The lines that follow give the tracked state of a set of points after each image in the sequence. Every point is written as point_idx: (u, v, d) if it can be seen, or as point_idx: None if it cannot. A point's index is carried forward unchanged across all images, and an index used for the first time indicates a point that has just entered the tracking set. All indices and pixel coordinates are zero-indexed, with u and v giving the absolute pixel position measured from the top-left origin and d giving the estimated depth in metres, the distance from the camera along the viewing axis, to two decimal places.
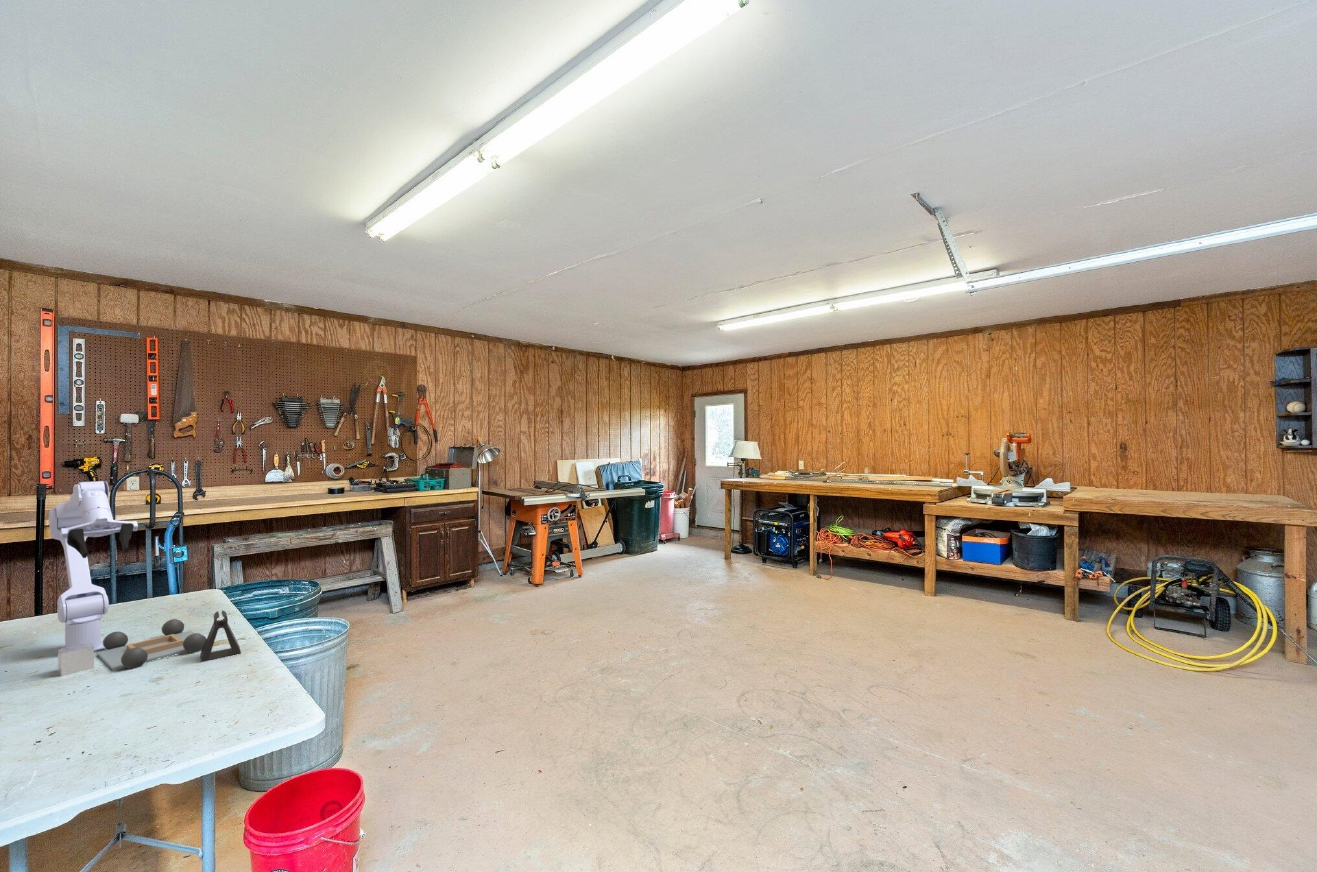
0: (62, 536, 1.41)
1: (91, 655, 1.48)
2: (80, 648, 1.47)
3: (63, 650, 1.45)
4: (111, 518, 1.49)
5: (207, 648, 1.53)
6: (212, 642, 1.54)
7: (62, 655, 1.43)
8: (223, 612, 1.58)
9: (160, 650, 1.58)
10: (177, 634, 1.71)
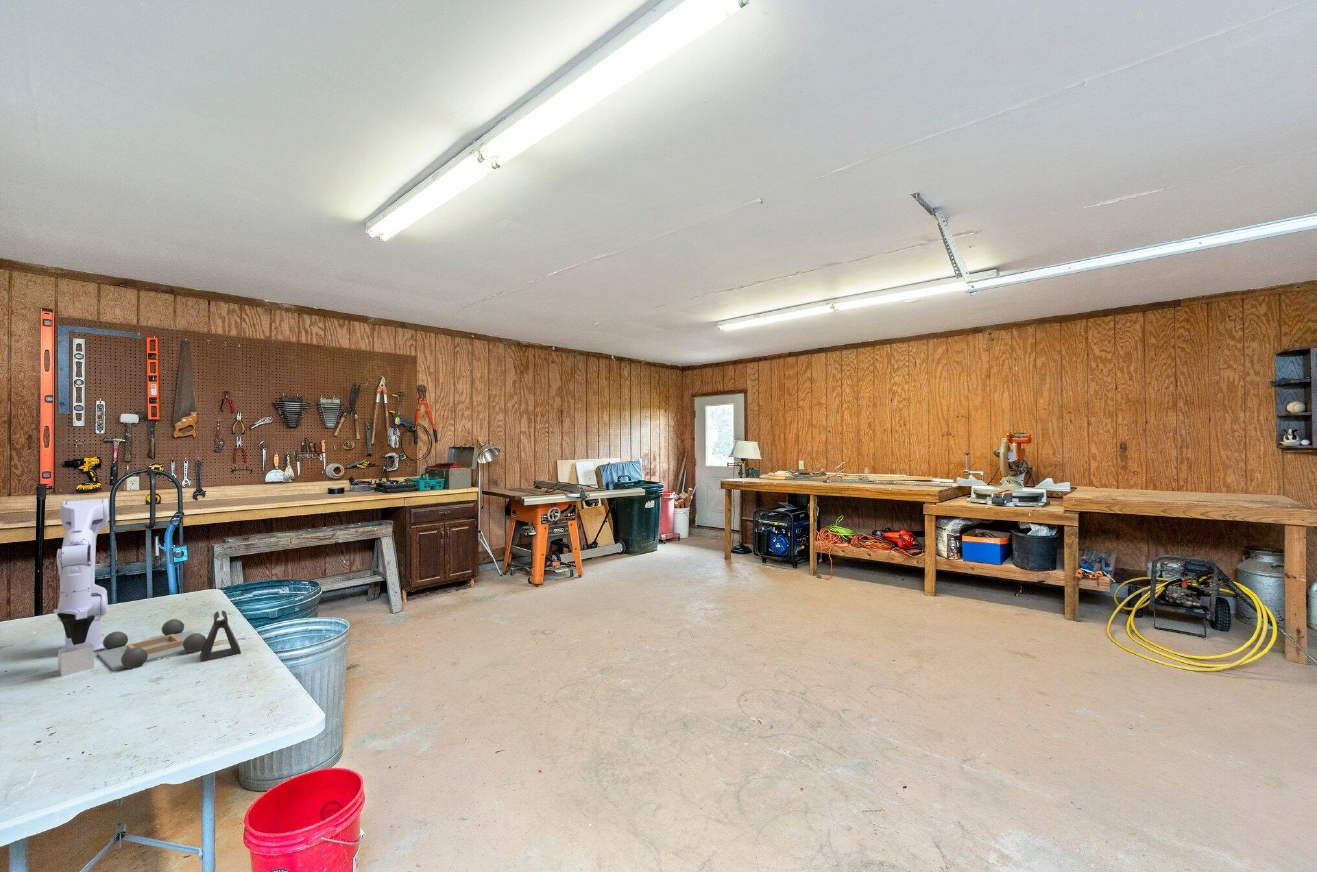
0: None
1: (91, 655, 1.48)
2: (80, 648, 1.47)
3: (63, 650, 1.45)
4: (68, 605, 1.44)
5: (207, 648, 1.53)
6: (212, 642, 1.54)
7: (62, 655, 1.43)
8: (223, 612, 1.58)
9: (160, 650, 1.58)
10: (177, 634, 1.71)
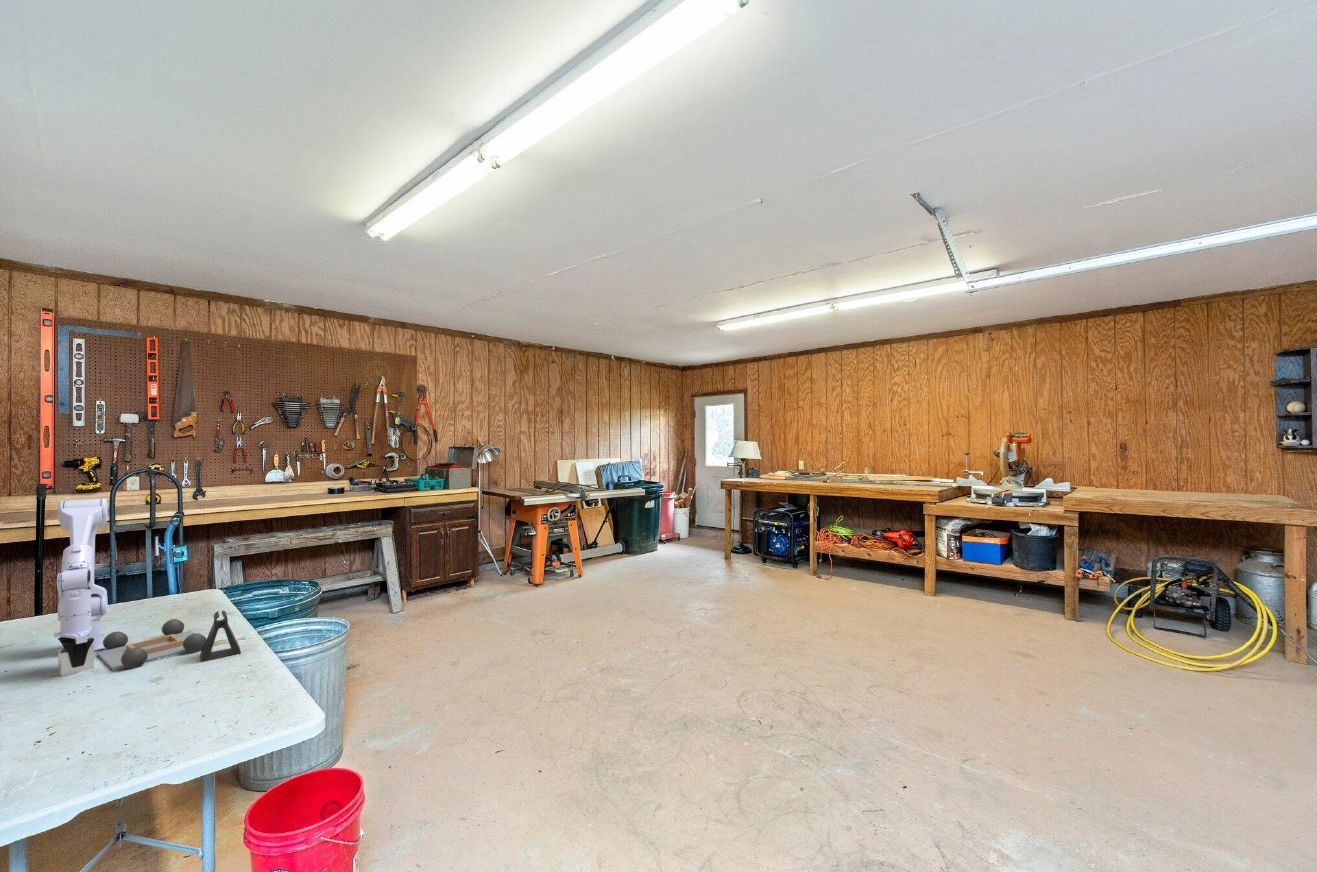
0: None
1: (91, 655, 1.48)
2: None
3: (63, 650, 1.45)
4: (68, 629, 1.44)
5: (207, 648, 1.53)
6: (212, 642, 1.54)
7: (62, 655, 1.43)
8: (223, 612, 1.58)
9: (160, 650, 1.58)
10: (177, 634, 1.71)
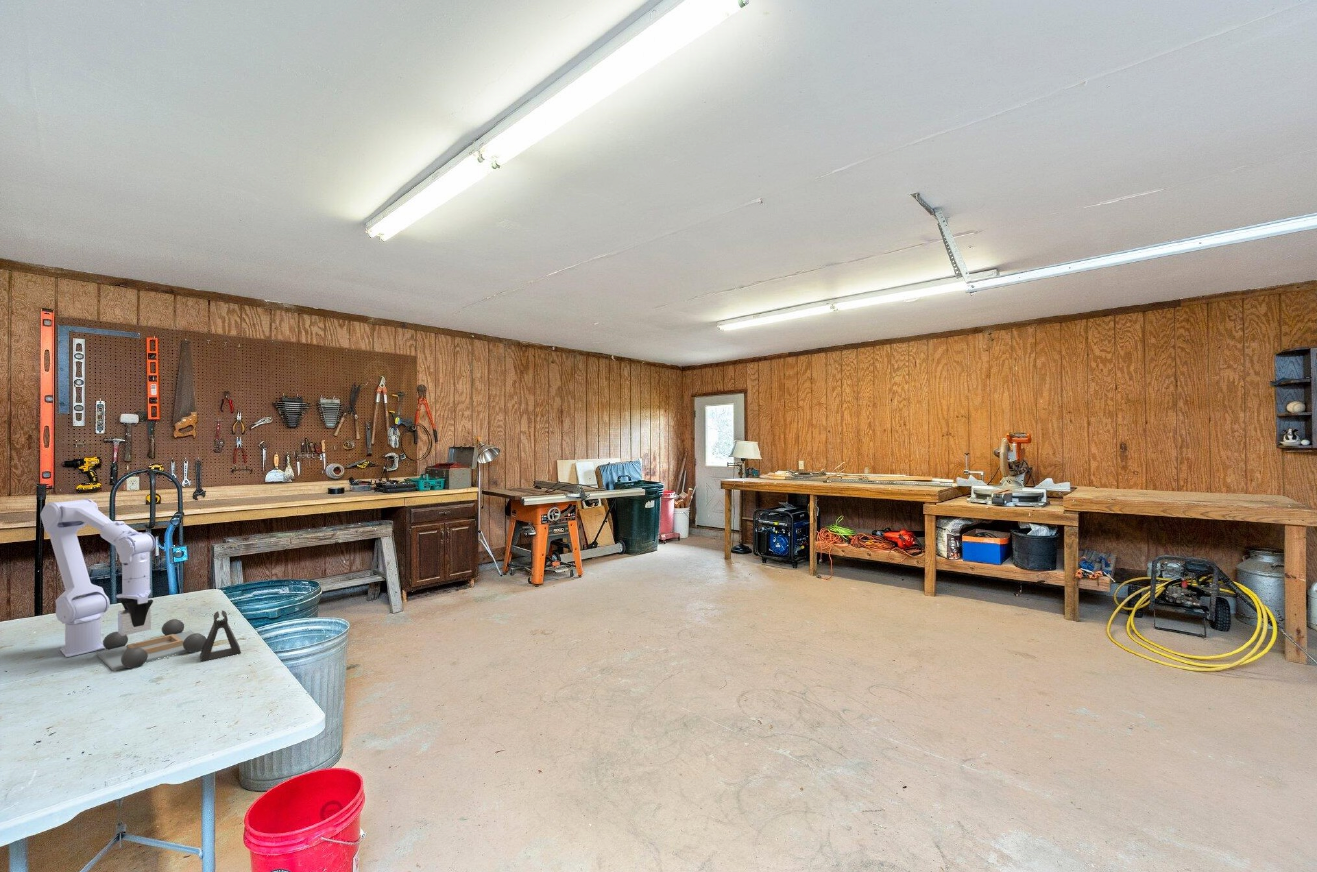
0: None
1: (148, 617, 1.57)
2: None
3: (123, 612, 1.55)
4: (130, 590, 1.54)
5: (207, 648, 1.53)
6: (212, 642, 1.54)
7: (122, 616, 1.53)
8: (223, 612, 1.58)
9: (160, 650, 1.58)
10: (177, 634, 1.71)
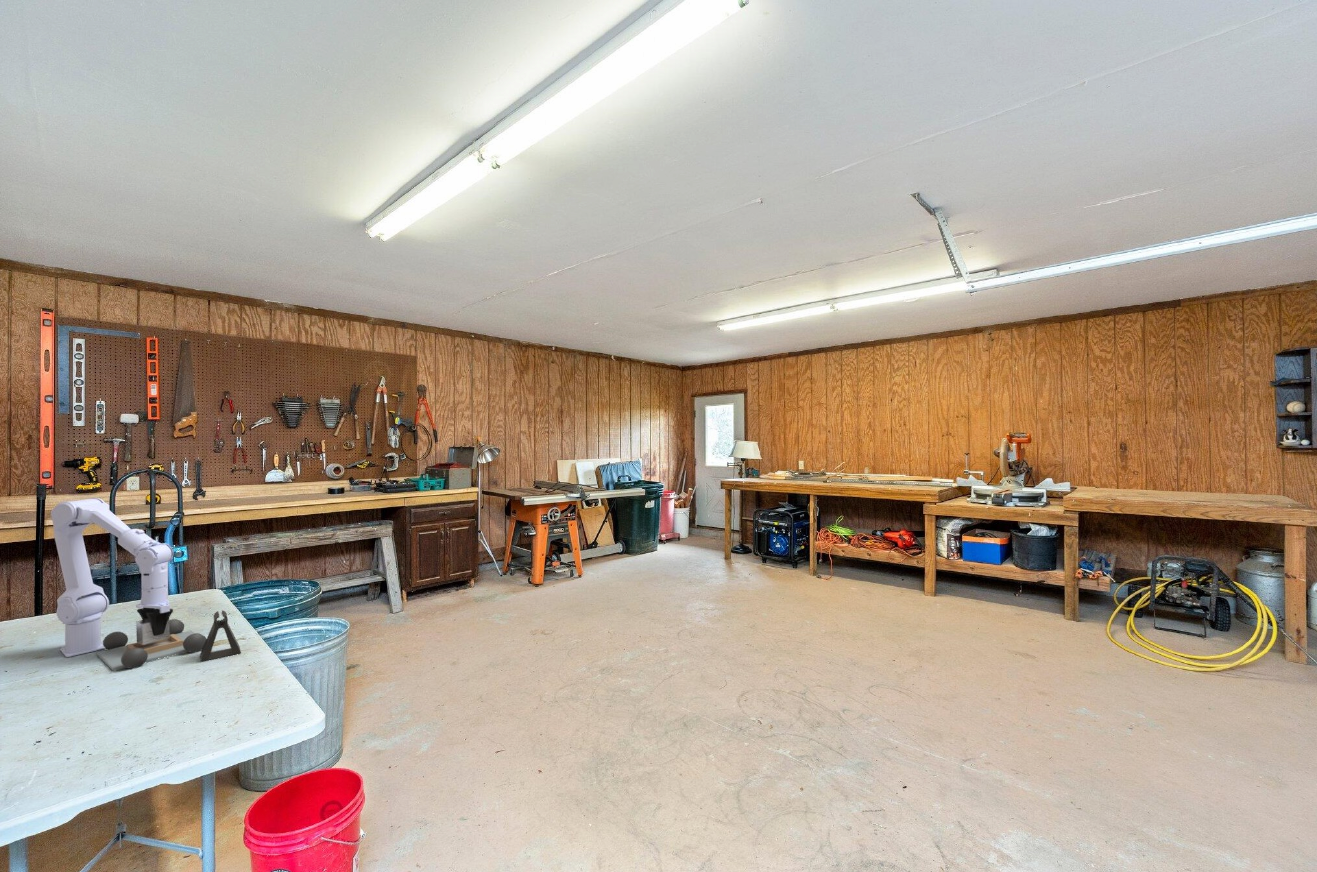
0: None
1: (167, 625, 1.61)
2: None
3: (142, 621, 1.58)
4: (150, 600, 1.57)
5: (207, 648, 1.53)
6: (212, 642, 1.54)
7: (143, 625, 1.56)
8: (223, 612, 1.58)
9: (160, 650, 1.58)
10: (177, 634, 1.71)
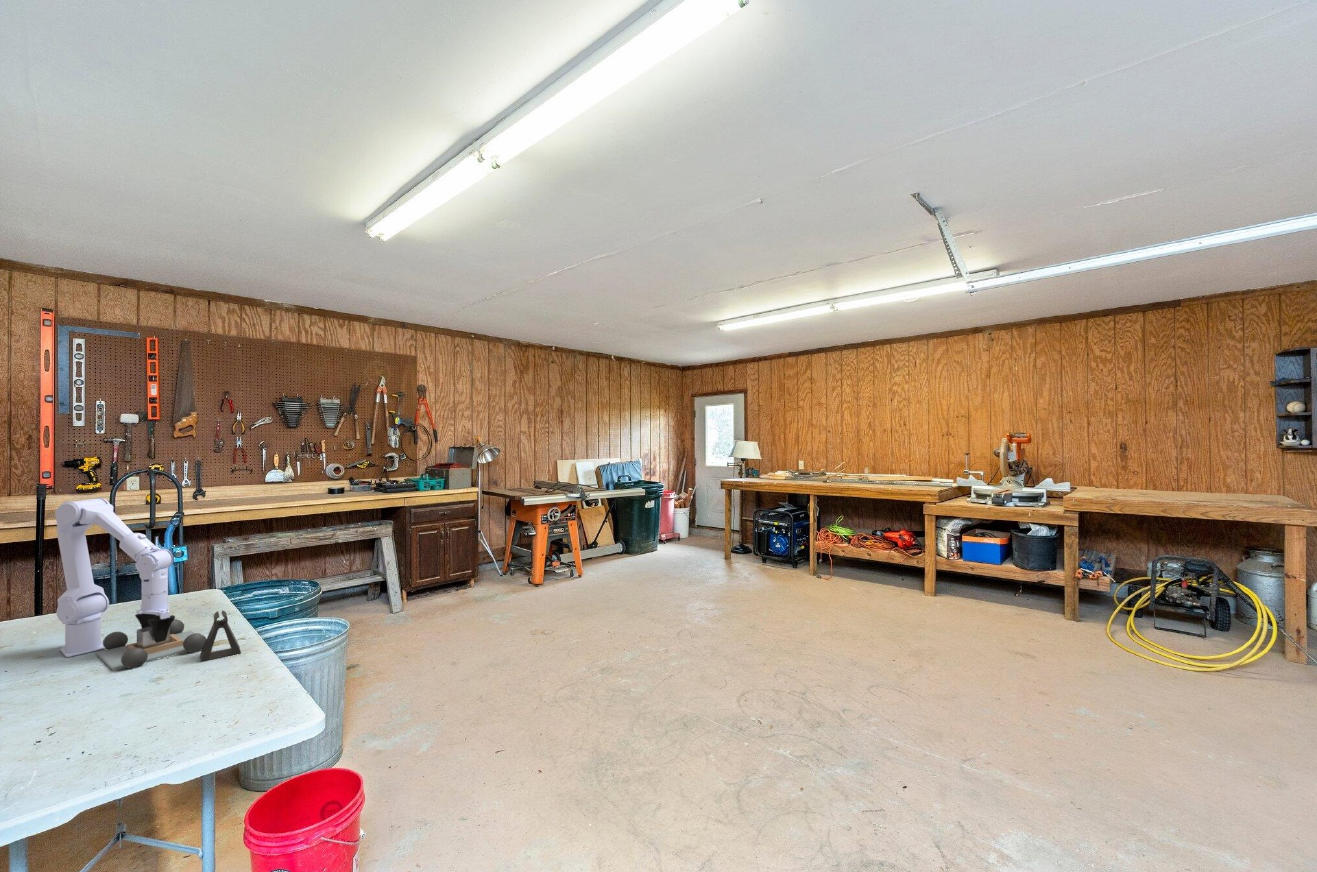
0: None
1: (167, 634, 1.61)
2: None
3: (142, 629, 1.58)
4: (150, 606, 1.57)
5: (207, 648, 1.53)
6: (212, 642, 1.54)
7: (143, 634, 1.56)
8: (223, 612, 1.58)
9: (160, 650, 1.58)
10: (177, 634, 1.71)
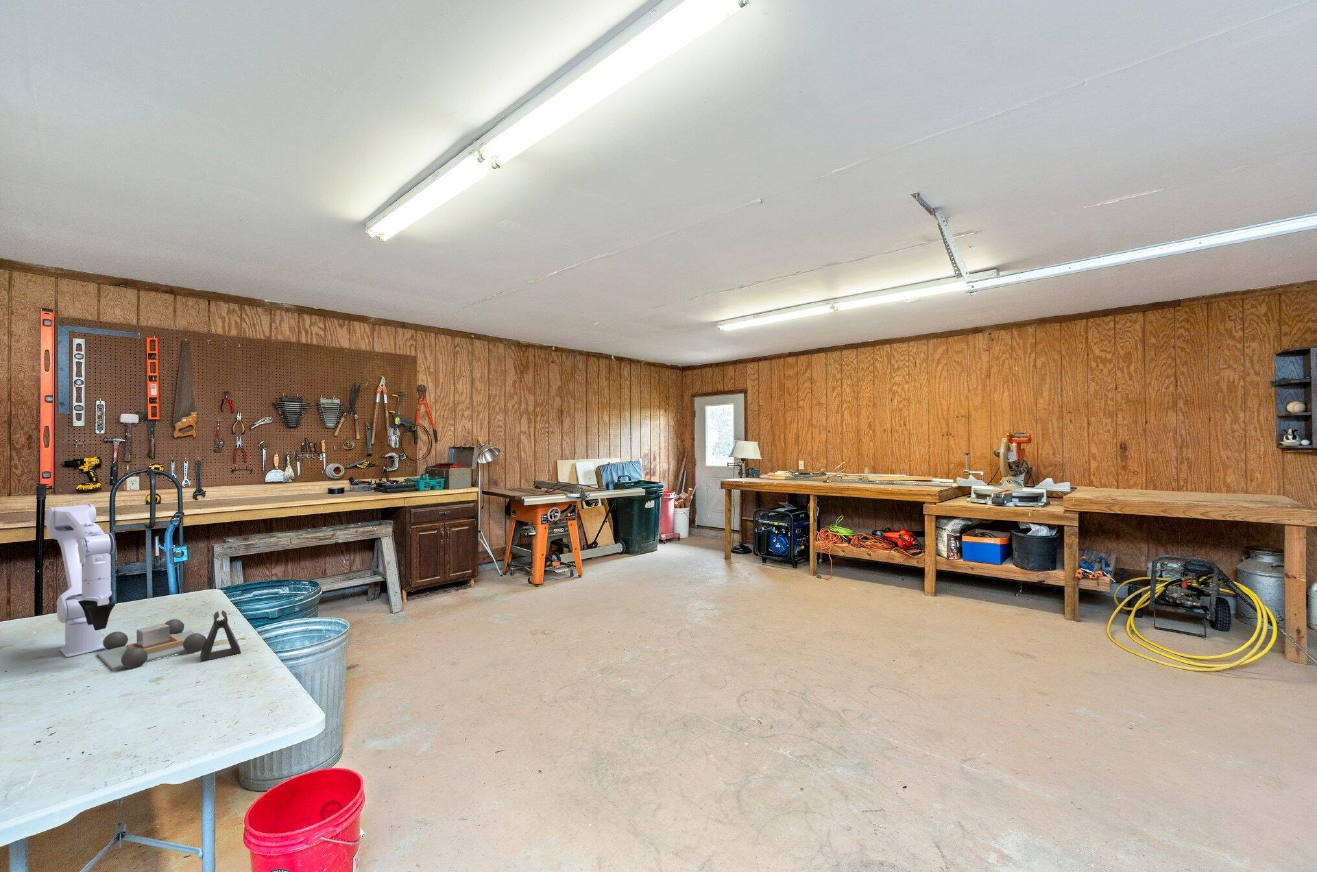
0: None
1: (167, 634, 1.61)
2: (158, 627, 1.60)
3: (142, 629, 1.58)
4: (89, 592, 1.51)
5: (207, 648, 1.53)
6: (212, 642, 1.54)
7: (143, 634, 1.56)
8: (223, 612, 1.58)
9: (160, 650, 1.58)
10: (177, 634, 1.71)
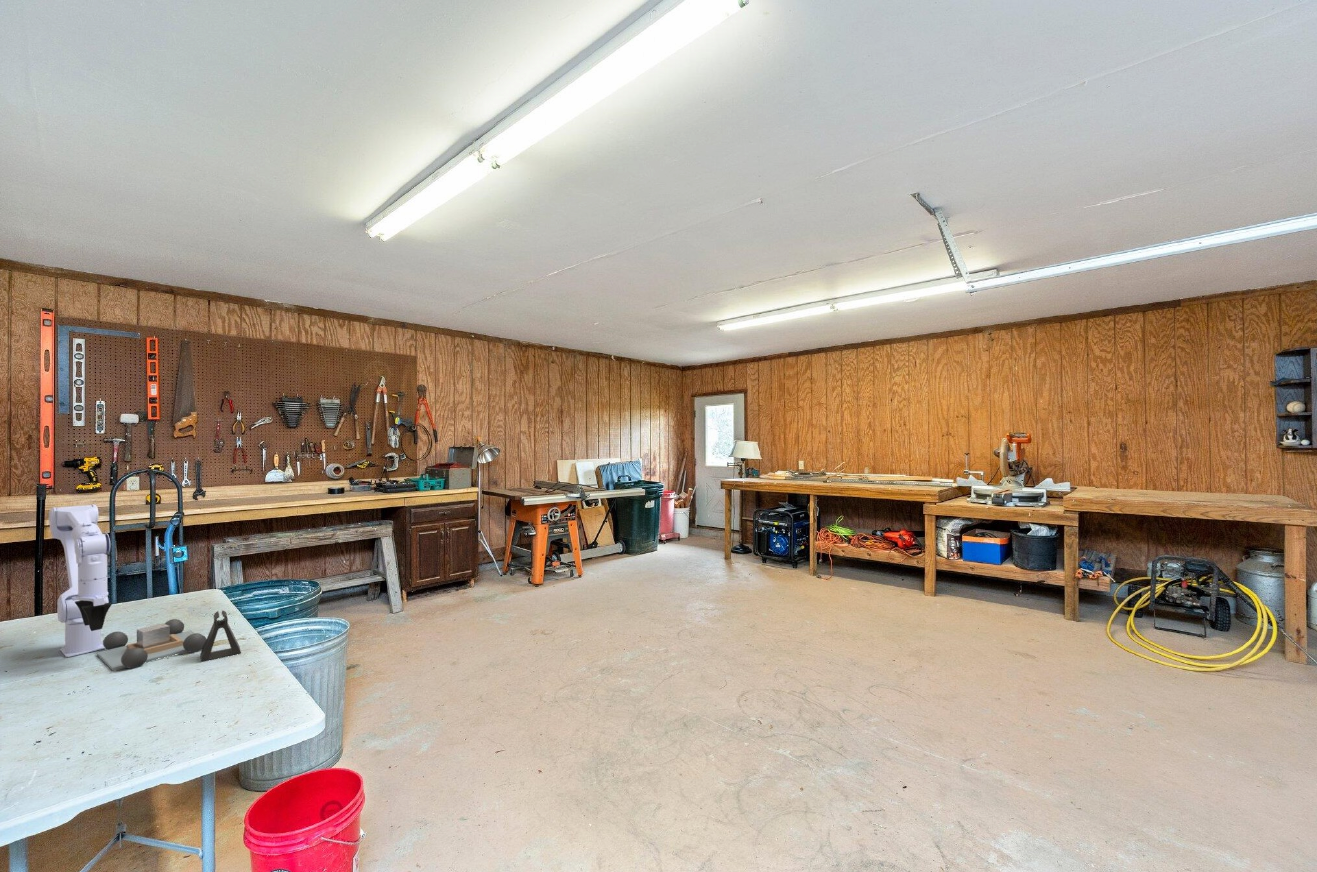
0: None
1: (167, 634, 1.61)
2: (158, 627, 1.60)
3: (142, 629, 1.58)
4: (86, 592, 1.50)
5: (207, 648, 1.53)
6: (212, 642, 1.54)
7: (143, 634, 1.56)
8: (223, 612, 1.58)
9: (160, 650, 1.58)
10: (177, 634, 1.71)
